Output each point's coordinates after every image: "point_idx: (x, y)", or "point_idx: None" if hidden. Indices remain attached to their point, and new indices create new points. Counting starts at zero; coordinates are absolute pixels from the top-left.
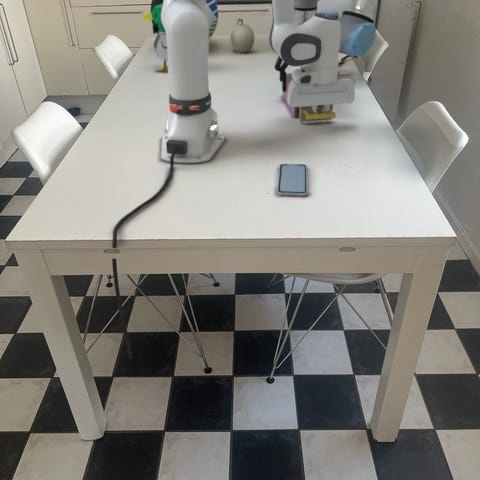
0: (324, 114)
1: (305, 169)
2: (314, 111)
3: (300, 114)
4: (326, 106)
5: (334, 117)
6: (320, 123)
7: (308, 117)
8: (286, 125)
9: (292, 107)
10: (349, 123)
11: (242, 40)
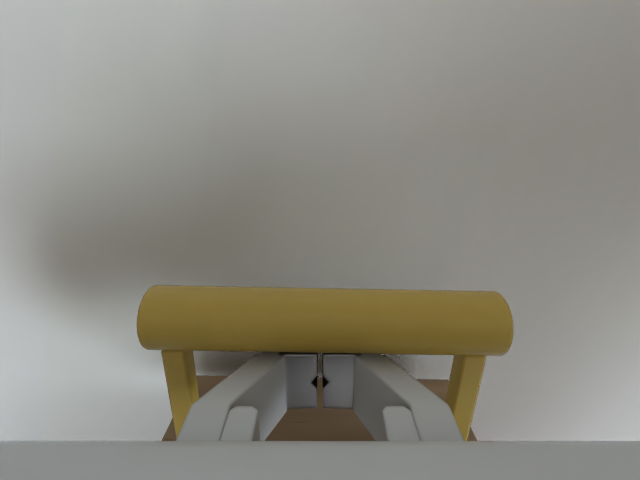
0: (283, 315)
1: None
2: (407, 379)
3: (471, 431)
4: (232, 426)
5: (165, 286)
6: None
7: (491, 297)
8: (539, 366)
9: None
10: (64, 320)
11: None
